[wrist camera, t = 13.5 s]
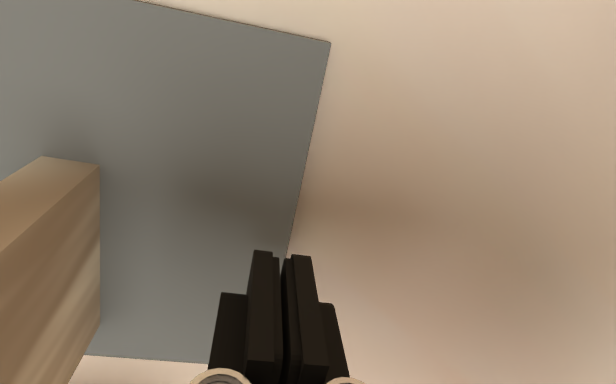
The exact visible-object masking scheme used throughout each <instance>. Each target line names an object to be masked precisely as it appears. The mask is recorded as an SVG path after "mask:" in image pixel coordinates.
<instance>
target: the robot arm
mask: <svg viewBox="0 0 616 384" xmlns="http://www.w3.org/2000/svg"><path fill="white" fill-rule="evenodd" d="M190 384H365V383H363V382H362V381H359V380H357V379H354V378H350V376H349V371H348V367H347V362H346V358H345V353H344V349H343V344H342V340H341V335H340V331H339V326H338V322H337V317H336V313H335V308H334V305H333V304H332V303H322V302H319V301H318V295H317V290H316V284H315V278H314V272H313V266H312V260H311V257H310V256H304V255H296V254H292V255H291V258H290V259H288V258H284V261H283V265H282V270H281V275H280V263H279V257H273V252H271V251H263V250H255V249H254V252H253V257H252V263H251V268H250V274H249V280H248V286H247V291H246V294H236V293H227V292H221V295H220V301H219V307H218V313H217V318H216V324H215V330H214V336H213V341H212V347H211V353H210V359H209V364H208V370H207V371H205V372H203V373H201V374H199V375H198V376H196V377H195V378H194V379H193V380H192V381H191V382H190Z"/></svg>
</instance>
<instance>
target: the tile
mask: <svg viewBox="0 0 616 384" xmlns="http://www.w3.org/2000/svg"><path fill="white" fill-rule="evenodd" d="M99 326H100V165H98V164H91V163H85V162H78V161H72V160H65V159H59V158H52V157H46V156H40V157H39V158H37V159H36V160H34V161H32V162H31V163H29V164H27V165H26V166H24V167H23V168H21V169H19V170H18V171H16V172H14V173H13V174H11V175H10V176H8V177H6V178H5V179H3V180H2V181H0V384H68V382H69V380H70V379H71V377H72V375H73V373H74V371H75V370H76V368H77V366H78V364H79V362H80V360H81V359H82V357H83V355H84V353H85V351H86V349H87V348H88V346H89V344H90V342H91V340H92V339H93V337H94V335H95V333H96V331H97V329H98V328H99Z"/></svg>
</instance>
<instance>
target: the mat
mask: <svg viewBox="0 0 616 384" xmlns="http://www.w3.org/2000/svg"><path fill="white" fill-rule="evenodd" d="M330 47H331V43H330V42H326V41H322V40H317V39H313V38H308V37H303V36H299V35H294V34H289V33H285V32H280V31H276V30H271V29H266V28H262V27H257V26H252V25H248V24H243V23H238V22H234V21H229V20H225V19H220V18H215V17H211V16H206V15H201V14H197V13H192V12H188V11H183V10H178V9H174V8H169V7H164V6H160V5H155V4H150V3H146V2H141V1H137V0H0V181H2V180H3V179H5V178H6V177H8V176H10V175H11V174H13V173H14V172H16V171H18V170H19V169H21V168H23V167H24V166H26V165H27V164H29V163H31V162H32V161H34V160H36V159H37V158H39V157H40V156H46V157H52V158H59V159H65V160H72V161H78V162H85V163H91V164H98V165H100V326H99V328H98V329H97V331H96V333H95V335H94V337H93V339H92V340H91V342H90V344H89V346H88V348H87V349H86V351H85V353H84V355H93V356H106V357H119V358H133V359H146V360H160V361H173V362H187V363H200V364H209V359H210V353H211V347H212V341H213V336H214V330H215V324H216V318H217V313H218V307H219V301H220V295H221V292H227V293H236V294H246V291H247V286H248V280H249V274H250V268H251V263H252V257H253V252H254V249H255V250H263V251H271V252H273V257H279V263H280V275H281V270H282V265H283V261H284V258H286V253H287V249H288V244H289V239H290V234H291V230H292V225H293V220H294V216H295V211H296V206H297V202H298V197H299V192H300V187H301V183H302V178H303V173H304V169H305V164H306V159H307V155H308V150H309V145H310V140H311V136H312V131H313V126H314V122H315V117H316V112H317V108H318V103H319V98H320V94H321V89H322V84H323V79H324V75H325V70H326V65H327V61H328V56H329V51H330Z"/></svg>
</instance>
